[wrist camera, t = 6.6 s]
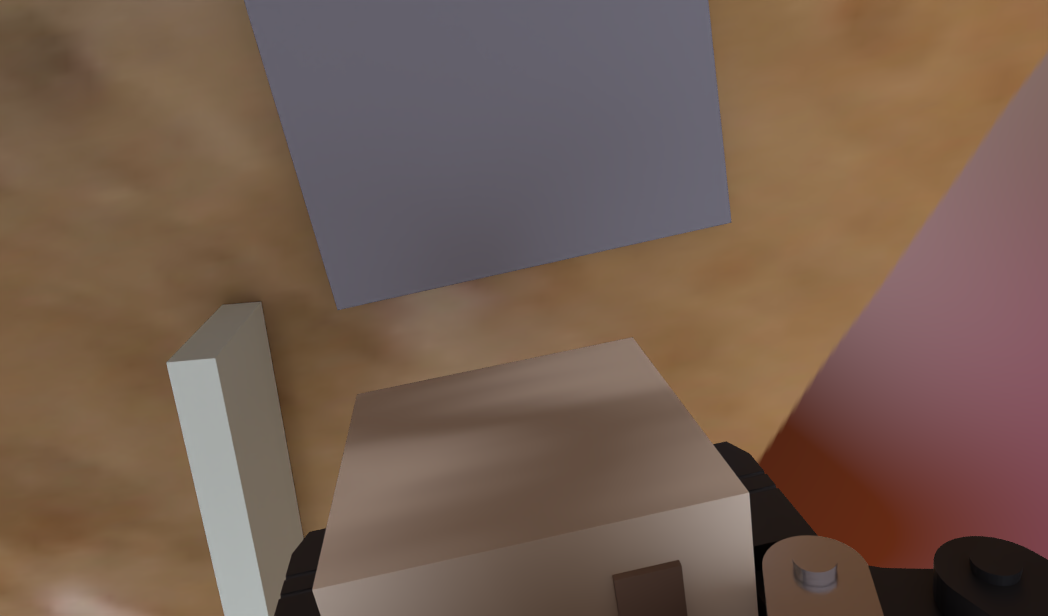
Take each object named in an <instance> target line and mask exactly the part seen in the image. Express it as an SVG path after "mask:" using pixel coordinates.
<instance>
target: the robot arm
mask: <svg viewBox="0 0 1048 616" xmlns="http://www.w3.org/2000/svg"><path fill="white" fill-rule="evenodd" d="M713 445H714V446H715V448H716V449H717V450H718V452H719V453H720V454H721V456H722V457H723V458H724V460H725V461H726V462H727V464H728V465H729V466H730V468H731V469H732V470H733V472H734V473H735V474H736V476H737V477H738V478H739V480H740V481H741V482H742V484H743V485H744V486H745V488H746V489H747V490H748V492H749V497H750V510H751V524H752V537H753V551H754V565H755V578H756V592H757V606H758V616H1048V560H1047V559H1045V558H1044V557H1042V556H1040V555H1038V554H1037V553H1035V552H1033V551H1031V550H1029V549H1027V548H1025V547H1023V546H1020V545H1018V544H1015V543H1013V542H1009V541H1006V540H1002V539H997V538H992V537H983V536H982V537H981V536H970V537H962V538H957V539H954V540H951V541H948V542H946V543H945V544H943V545H942V546H941V547H940V548H939V549H938V550H937V551H936V553H935V557H934V568H933V569H902V568H880V567H874V566H868V565H867V563H866V561H865V560H864V559H863V557H862V556H861V555H860V554H859V553H858V552H856V551H855V550H854V549H852V548H851V547H849V546H847V545H845V544H844V543H841V542H839V541H836V540H834V539H830V538H826V537H820V536H817V534H816V533H815V532H814V531H813V530H812V528H811V527H810V526H809V525H808V524H807V522H806V521H805V520H804V519H803V517H802V516H801V515H800V514H799V513H798V511H797V510H796V509H795V508H794V507H793V505H792V504H791V503H790V502H789V501H788V499H787V498H786V497H785V496H784V494H783V493H782V492H781V491H780V490H779V489H778V488H776V486H775V484H774V482H773V481H772V480H771V479H770V478H769V476H768V475H767V474H764V471H763V469H762V468H761V467H760V466H759V464H758V463H757V462H756V461H755V460H754V458H753V457H752V456H751V455H750V454H749V453H747V452H745V451H744V450H742V449H740V448H738V447H736V446H734V445H732V444H730V443H728V442H722V443H717V444H713ZM325 532H326V529H321V530H316V531H312V532H309V533H308V534H307V536H306V537H305V538H304V539H303V541H302V542H301V543H300V544H299V546H298V547H297V548H296V549H295V551H294V552H293V553H292V555H291V559H290V562H289V565H288V569H287V572H286V580H284V583H283V586H282V590H281V593H280V596H281V599H279V600H278V604H277V607H276V610H275V614H274V616H321V615H320V612H319V609H318V606H317V603H316V600H315V597H314V594H313V591H312V588H313V584H314V580H315V575H316V571H317V567H318V562H319V558H320V554H321V549H322V545H323V540H324V536H325Z"/></svg>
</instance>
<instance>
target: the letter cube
mask: <svg viewBox="0 0 1048 616" xmlns="http://www.w3.org/2000/svg"><path fill="white" fill-rule="evenodd" d="M312 591H313V594H314V597H315V600H316V603H317V606H318V609H319V612H320V615H321V616H758V606H757V592H756V578H755V565H754V551H753V537H752V524H751V510H750V497H749V492H748V490H747V489H746V488H745V486H744V485H743V484H742V482H741V481H740V480H739V478H738V477H737V476H736V474H735V473H734V472H733V470H732V469H731V468H730V466H729V465H728V464H727V462H726V461H725V460H724V458H723V457H722V456H721V454H720V453H719V452H718V450H717V449H716V448H715V446H714V445H713V444H712V442H711V441H710V440H709V438H708V437H707V436H706V434H705V433H704V432H703V430H702V429H701V428H700V426H699V425H698V424H697V422H696V421H695V420H694V418H693V417H692V416H691V414H690V413H689V412H688V410H687V409H686V408H685V406H684V405H683V404H682V402H681V401H680V400H679V399H678V397H677V396H676V395H675V393H674V392H673V391H672V389H671V388H670V387H669V385H668V384H667V383H666V381H665V380H664V379H663V377H662V376H661V375H660V373H659V372H658V371H657V369H656V368H655V367H654V365H653V364H652V363H651V361H650V360H649V359H648V357H647V356H646V355H645V353H644V352H643V351H642V349H641V348H640V347H639V345H638V344H637V343H636V341H635V340H634V339H633V337H632V338H627V339H622V340H617V341H612V342H608V343H603V344H598V345H593V346H588V347H583V348H579V349H574V350H569V351H564V352H559V353H554V354H550V355H545V356H540V357H535V358H530V359H525V360H520V361H516V362H511V363H506V364H501V365H496V366H491V367H487V368H482V369H477V370H472V371H467V372H462V373H458V374H453V375H448V376H443V377H438V378H433V379H429V380H424V381H419V382H414V383H409V384H404V385H400V386H395V387H390V388H385V389H380V390H375V391H371V392H366V393H361V394H357V397H356V401H355V406H354V410H353V414H352V419H351V423H350V427H349V432H348V436H347V440H346V445H345V449H344V453H343V458H342V462H341V466H340V471H339V475H338V480H337V484H336V488H335V493H334V497H333V501H332V506H331V510H330V514H329V519H328V523H327V527H326V532H325V536H324V540H323V545H322V549H321V554H320V558H319V562H318V567H317V571H316V575H315V580H314V584H313V588H312Z"/></svg>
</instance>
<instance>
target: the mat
mask: <svg viewBox="0 0 1048 616" xmlns="http://www.w3.org/2000/svg"><path fill="white" fill-rule="evenodd" d="M244 2H245V5H246V9H247V12H248V15H249V19H250V22H251V25H252V28H253V32H254V35H255V38H256V42H257V45H258V48H259V52H260V55H261V58H262V62H263V65H264V68H265V71H266V75H267V78H268V81H269V85H270V88H271V91H272V95H273V98H274V101H275V104H276V108H277V111H278V114H279V118H280V121H281V124H282V128H283V131H284V134H285V137H286V141H287V144H288V147H289V151H290V154H291V157H292V161H293V164H294V167H295V170H296V174H297V177H298V180H299V184H300V187H301V190H302V194H303V197H304V200H305V204H306V207H307V210H308V213H309V217H310V220H311V223H312V227H313V230H314V233H315V237H316V240H317V243H318V246H319V250H320V253H321V256H322V260H323V263H324V266H325V270H326V273H327V276H328V279H329V283H330V286H331V289H332V293H333V296H334V299H335V303H336V306H337V309H338V310H340V309H345V308H349V307H354V306H358V305H363V304H367V303H372V302H376V301H381V300H385V299H390V298H394V297H399V296H403V295H408V294H412V293H417V292H421V291H426V290H430V289H435V288H439V287H444V286H448V285H453V284H457V283H462V282H466V281H471V280H475V279H480V278H484V277H489V276H493V275H498V274H502V273H507V272H511V271H516V270H520V269H525V268H529V267H534V266H538V265H542V264H547V263H551V262H556V261H560V260H565V259H569V258H574V257H578V256H583V255H587V254H592V253H596V252H601V251H605V250H610V249H614V248H619V247H623V246H628V245H632V244H637V243H641V242H646V241H650V240H655V239H659V238H664V237H668V236H673V235H677V234H682V233H686V232H691V231H695V230H700V229H704V228H709V227H713V226H718V225H722V224H727V223H731V214H730V205H729V195H728V186H727V176H726V166H725V157H724V147H723V138H722V128H721V119H720V109H719V100H718V90H717V80H716V71H715V61H714V52H713V42H712V33H711V23H710V14H709V4H708V0H244Z"/></svg>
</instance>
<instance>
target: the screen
mask: <svg viewBox="0 0 1048 616" xmlns="http://www.w3.org/2000/svg"><path fill="white" fill-rule="evenodd" d="M166 363H167V368H168V372H169V376H170V381H171V385H172V389H173V394H174V398H175V402H176V407H177V411H178V415H179V420H180V424H181V428H182V433H183V437H184V441H185V446H186V450H187V455H188V459H189V463H190V468H191V472H192V476H193V481H194V485H195V489H196V494H197V498H198V502H199V507H200V511H201V515H202V520H203V524H204V528H205V533H206V537H207V541H208V546H209V550H210V554H211V559H212V563H213V568H214V572H215V576H216V581H217V585H218V589H219V594H220V598H221V602H222V607H223V611H224V615H225V616H274V614H275V610H276V607H277V604H278V600H279V599H281V596H280V593H281V590H282V586H283V583H284V580H286V572H287V569H288V565H289V562H290V559H291V555H292V553H293V552H294V551H295V549H296V548H297V547H298V546H299V544H300V543H301V542H302V541H303V539H304V537H303V532H302V526H301V521H300V515H299V510H298V504H297V498H296V493H295V487H294V482H293V476H292V471H291V465H290V459H289V454H288V448H287V443H286V437H285V432H284V426H283V420H282V415H281V409H280V404H279V398H278V393H277V387H276V381H275V376H274V370H273V365H272V359H271V354H270V348H269V342H268V337H267V331H266V326H265V320H264V315H263V309H262V303H261V302H250V303H238V304H226V305H222V306H221V307H220V308H219V309H218V310H217V311H216V312H215V313H214V314H213V315H212V316H211V317H210V318H209V319H208V320H207V321H206V322H205V323H204V324H203V325H202V326H201V327H200V328H199V329H198V330H197V331H196V332H195V333H194V334H193V336H192V337H191V338H190V339H189V340H188V341H187V342H186V343H185V344H184V345H183V346H182V347H181V348H180V349H179V350H178V351H177V352H176V353H175V354H174V355H173V356H172V357H171V358H170V359H169V360H168V361H167V362H166Z"/></svg>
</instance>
